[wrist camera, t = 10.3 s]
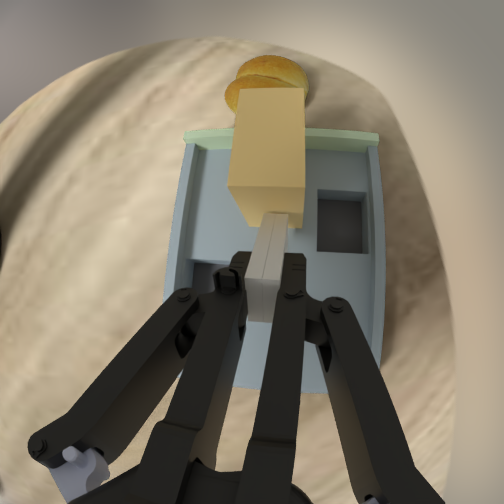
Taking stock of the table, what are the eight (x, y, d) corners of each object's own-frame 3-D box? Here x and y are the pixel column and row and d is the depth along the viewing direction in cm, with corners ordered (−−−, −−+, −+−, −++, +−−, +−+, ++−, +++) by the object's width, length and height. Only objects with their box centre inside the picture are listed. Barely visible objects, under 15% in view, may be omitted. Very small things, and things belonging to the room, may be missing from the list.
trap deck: (363, 384, 20) (378, 400, 16) (177, 369, 23) (153, 379, 18) (367, 159, 24) (378, 133, 20) (200, 156, 27) (184, 131, 22)
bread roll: (217, 118, 28) (206, 94, 24) (251, 65, 29) (245, 42, 25) (291, 137, 26) (289, 112, 22) (317, 80, 27) (318, 54, 23)
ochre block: (302, 228, 21) (305, 187, 14) (249, 226, 22) (227, 186, 15) (303, 148, 22) (303, 88, 15) (255, 148, 23) (239, 89, 16)
